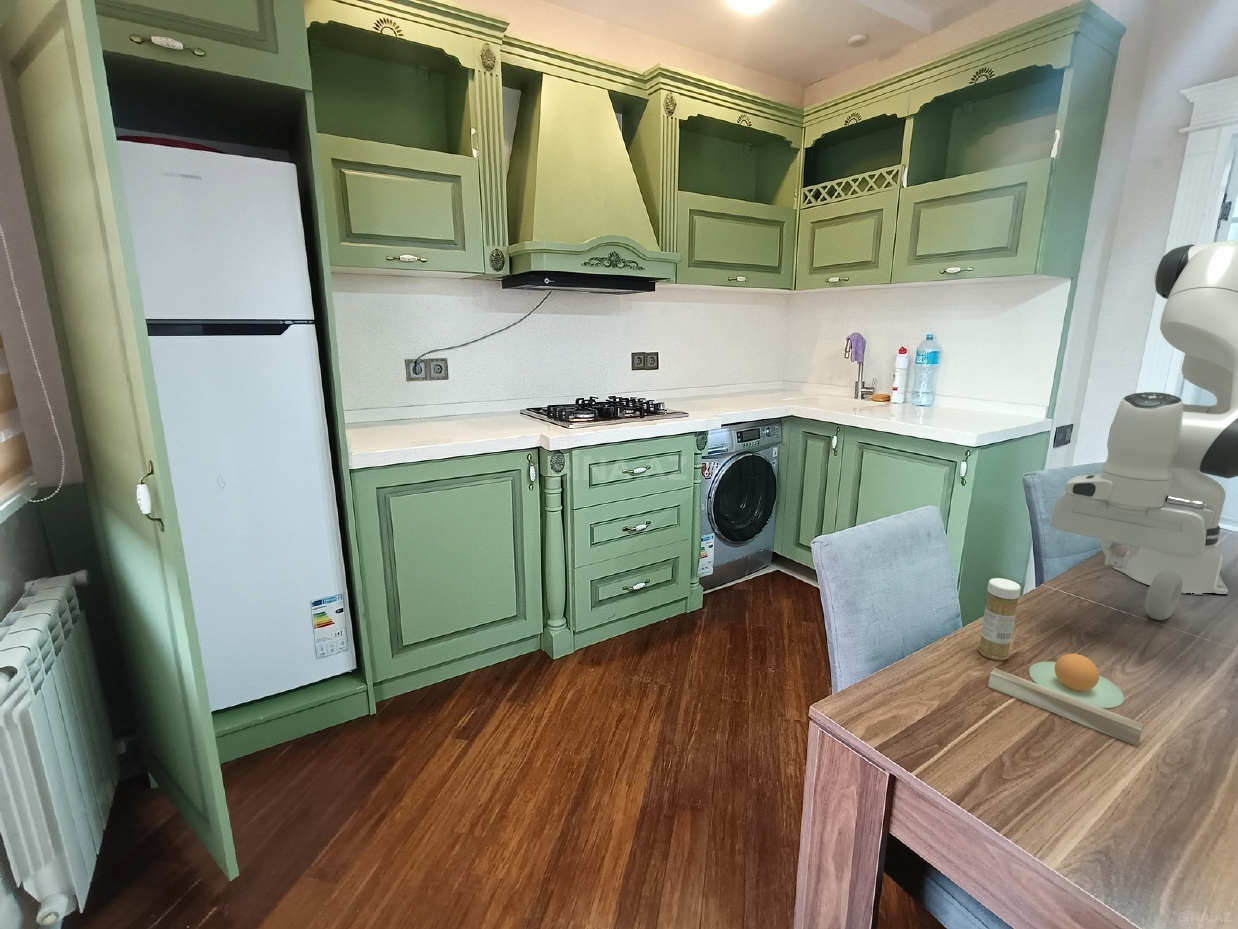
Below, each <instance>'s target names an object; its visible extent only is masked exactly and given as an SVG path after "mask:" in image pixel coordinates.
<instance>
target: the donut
mask: <svg viewBox="0 0 1238 929" xmlns="http://www.w3.org/2000/svg"><path fill="white" fill-rule="evenodd" d="M1182 587H1183V580H1182V577H1181V576H1180V575H1179V573H1177V572H1176V571H1173V570H1164V571H1161V572H1159V573H1158V574H1157V575H1156V576H1155V578H1154V579H1153V581H1152V583H1151V585H1149V588H1148V590H1147V593H1146V596H1145V601H1144V610H1145V613H1146V614H1147V615H1148V616H1149V617H1150V618H1151V619H1153V620H1156V621H1164V620H1167V619H1168V618H1170V617H1171V616H1172V614H1173V613H1174V611H1175V610H1176V608H1177V606H1178V604H1179V601H1180V598H1181V594H1182V593H1181V592H1182Z"/></svg>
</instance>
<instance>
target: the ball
mask: <svg viewBox="0 0 1238 929" xmlns="http://www.w3.org/2000/svg"><path fill="white" fill-rule="evenodd" d="M1055 662H1056V664H1055V674H1056V676H1057V678H1058V679H1059V681H1060V682H1061V683H1062V684H1063V685H1065V686H1066V687H1068V688H1070V689H1073V690H1076V691H1086V690H1090V689H1092V688H1093V687H1095V686H1096V685H1097V683H1098V681H1099V675H1100V672H1099V668H1098V666H1096V664H1095V663H1094V662H1093V661H1092V660H1091V659H1089V657H1086V656H1085V655H1081V654H1078V653H1066V654H1064V655H1061V656H1060V657H1058V659H1056V661H1055Z"/></svg>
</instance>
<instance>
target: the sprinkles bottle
mask: <svg viewBox="0 0 1238 929" xmlns="http://www.w3.org/2000/svg"><path fill="white" fill-rule="evenodd" d="M1021 589H1022V586H1021V585H1020V584H1019V583H1017V582H1015V581H1014V580H1009V579H1006V578H1002V577H1001V578H998V577H996V578H994V577H993V578H991V579H989V581H988V584H987V598H986V603H985V604H986V605H985V608H984V615H983V619H982V626H981V634H980V635H981V636H980V642H979V645H978V649H977V650H978V652H979V653H980V654H981V655H982V656H984V657H986V658H987V659H989V660H994V661H999V662H1000V661H1005V660H1008V659H1009V657H1010V656H1009V650H1010V646H1011V642H1012V638H1013V631H1014V627H1015V621H1016V612H1017V606H1018V600H1019V598H1020V595H1021Z"/></svg>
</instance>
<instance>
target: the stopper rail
mask: <svg viewBox="0 0 1238 929" xmlns="http://www.w3.org/2000/svg"><path fill="white" fill-rule="evenodd" d="M987 688H990V689H993V690H995V691H997V692H1000V693H1002V694H1005V695H1007V696H1010V697H1013V698H1015V699H1018V700H1019V701H1023V702H1025V703H1027V702H1028V704H1030V705H1032V706H1035V707H1037V708H1040V709H1042V708H1043V709H1042V710H1045V709H1046V710H1045V711H1047V712H1050V713H1052V712H1053V713H1052V714H1055V715H1057V716H1060V717H1062V718H1064V719H1067V720H1070V721H1073V722H1075V723H1077V724H1080V725H1082V726H1084V727H1087V728H1089V729H1092V730H1095V731H1098V732H1100V733H1102V734H1105V735H1107V736H1110V737H1112V738H1114V739H1117V740H1120V741H1122V742H1125V743H1127V744H1129V745H1132V746H1134V747H1138V746H1139V743H1140V739H1141V736H1142V732H1143V728H1144V723H1142V722H1139V721H1136V720H1134V719H1131V718H1128V717H1126V716H1123V715H1120V714H1118V713H1115V712H1113V711H1110V710H1109V709H1108V710H1107V709H1106V708H1100V707H1097V706H1094V705H1092V704H1089V703H1086V702H1084V701H1081V700H1078V699H1076V698H1073V697H1070V696H1068V695H1065V694H1063V693H1060V692H1057V691H1055V690H1052V689H1049V688H1047V687H1044V686H1041V685H1039V684H1036V683H1035V682H1034V681H1031V680H1028V679H1025V678H1024V677H1019V676H1017V675H1014V674H1012V673H1009V672H1007V671H1004V670H1002V669H999V668H996V667H995V668H993V669H992V671H990V673H989V680H988V684H987Z"/></svg>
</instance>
